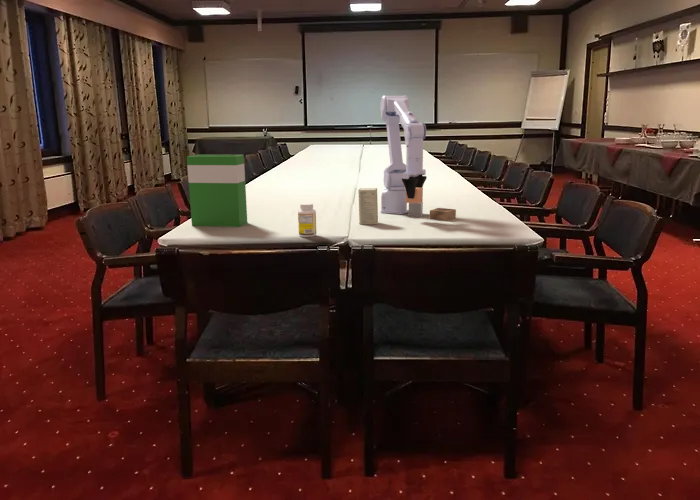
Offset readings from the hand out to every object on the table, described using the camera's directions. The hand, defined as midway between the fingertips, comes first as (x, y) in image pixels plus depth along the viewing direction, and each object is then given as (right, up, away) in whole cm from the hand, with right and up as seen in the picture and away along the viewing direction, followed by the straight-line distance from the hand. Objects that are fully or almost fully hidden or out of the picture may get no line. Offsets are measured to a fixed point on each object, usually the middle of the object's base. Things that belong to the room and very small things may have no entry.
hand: (414, 197), depth 202 cm
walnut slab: (+11, -7, +6) cm, 14 cm away
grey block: (+2, -6, +13) cm, 14 cm away
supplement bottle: (-36, -14, -21) cm, 44 cm away
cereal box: (-68, -10, 0) cm, 69 cm away
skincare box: (-16, -9, -2) cm, 19 cm away
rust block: (0, -2, 0) cm, 2 cm away
